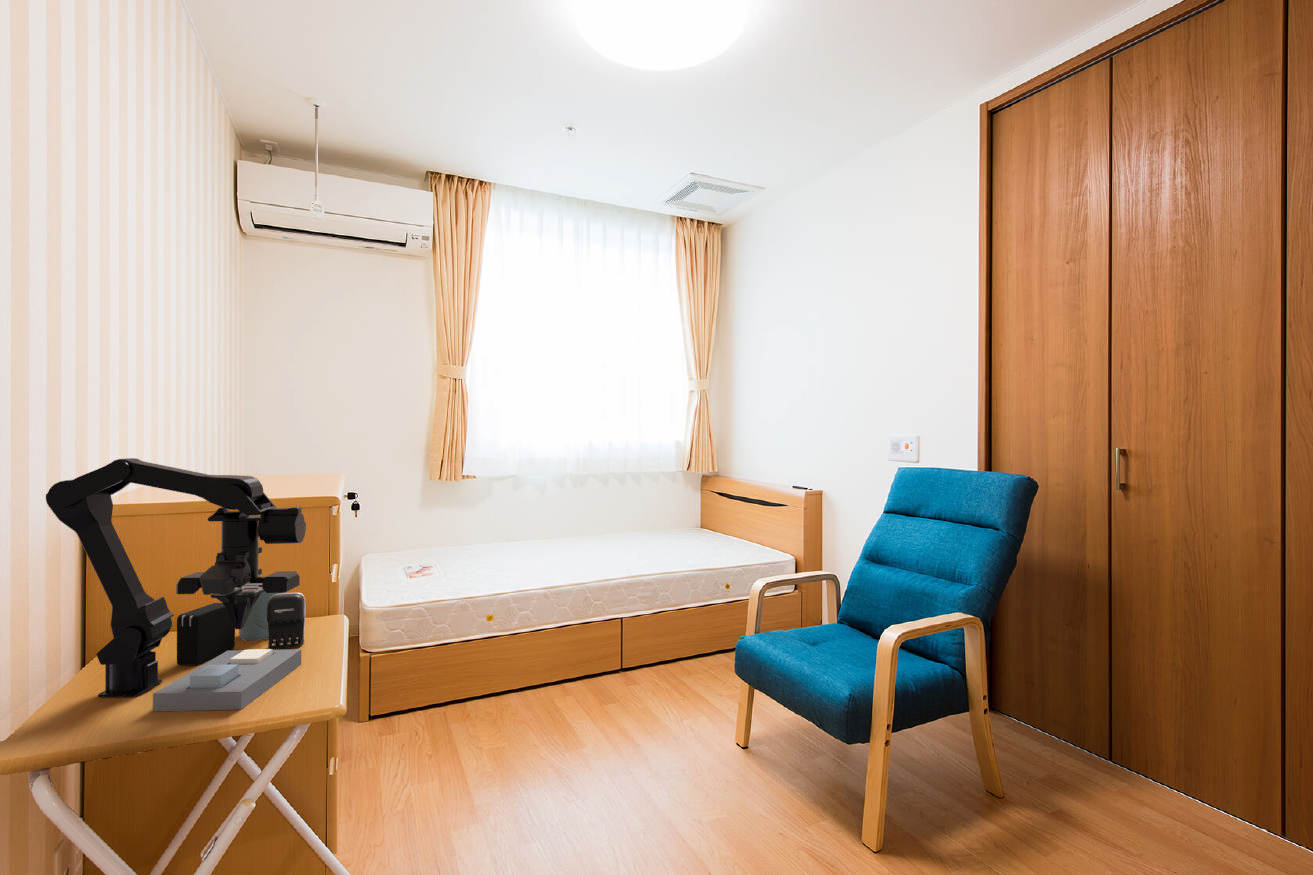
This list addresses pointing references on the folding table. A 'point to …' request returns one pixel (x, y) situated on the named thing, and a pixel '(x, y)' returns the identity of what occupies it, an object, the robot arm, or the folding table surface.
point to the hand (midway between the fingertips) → (239, 628)
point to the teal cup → (257, 620)
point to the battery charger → (286, 620)
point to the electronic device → (204, 634)
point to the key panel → (233, 694)
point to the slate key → (214, 676)
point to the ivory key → (251, 656)
